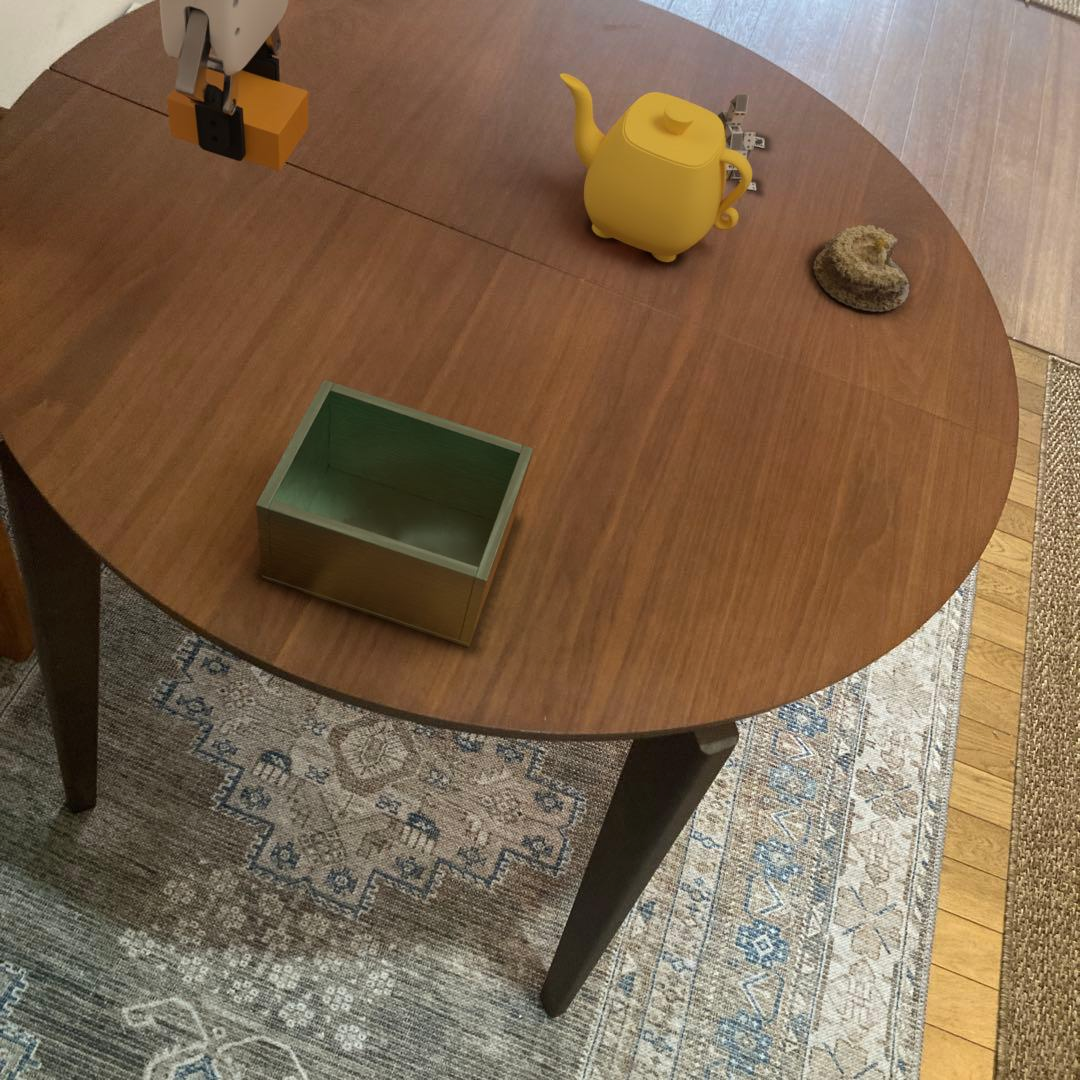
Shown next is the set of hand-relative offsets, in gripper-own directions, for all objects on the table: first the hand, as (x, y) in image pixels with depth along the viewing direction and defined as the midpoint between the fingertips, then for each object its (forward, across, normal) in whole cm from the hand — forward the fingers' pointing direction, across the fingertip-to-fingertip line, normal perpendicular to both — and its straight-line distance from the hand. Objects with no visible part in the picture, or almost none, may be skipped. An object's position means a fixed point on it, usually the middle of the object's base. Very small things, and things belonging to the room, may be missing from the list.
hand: (240, 125), depth 74 cm
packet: (0, 0, 0) cm, 0 cm away
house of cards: (+17, -40, +38) cm, 58 cm away
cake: (+17, -28, +52) cm, 62 cm away
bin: (+17, +19, +19) cm, 32 cm away
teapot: (+17, -26, +28) cm, 42 cm away
